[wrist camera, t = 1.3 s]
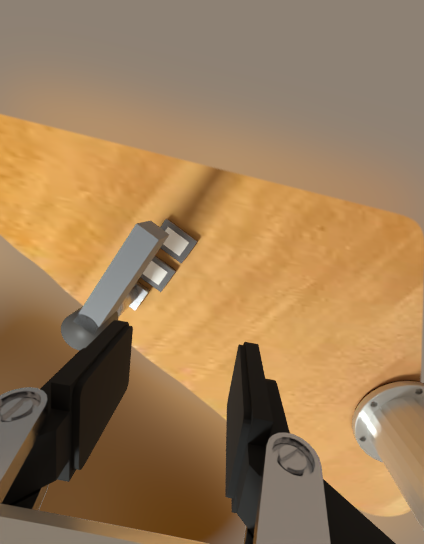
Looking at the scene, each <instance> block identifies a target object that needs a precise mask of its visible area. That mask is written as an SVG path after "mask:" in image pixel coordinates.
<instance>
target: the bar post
mask: <svg viewBox="0 0 424 544" xmlns="http://www.w3.org/2000/svg"><path fill="white" fill-rule="evenodd" d="M149 291H150V290H149V289H147V288H146V287H144V286H143V285H141V284H140V283H139V282H136V284H135V285H134V287H133V288H132V290H131V291H130V293H129V294H128V295H127V297H126V298H125V300H124V301H123V303H122V304H121V306H120V307H119V308H118V310H117V312H118V317H119V316H120V315H121V314H122V313H123V312H124V311H125V310H126V309H127V308H128V307H131V308H132V309H134V310H136V309H137V308H138V307H139V305H140V304H141V302H142V301H143V300H144V298H145V297H146V295H147V294H148V293H149Z"/></svg>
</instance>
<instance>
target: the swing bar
mask: <svg viewBox="0 0 424 544" xmlns="http://www.w3.org/2000/svg"><path fill="white" fill-rule="evenodd" d="M168 236H169V234H168V233H167V232H165V231H164V230H163V229H161V228H160V227H159V226H157V225H156V224H154V223H153V222H152V221H147V222H142V223H137V224H136V225H135V227H134V228H133V230H132V231H131V233H130V234H129V236H128V238H127V239H126V241H125V242H124V244H123V245H122V247H121V248H120V250H119V251H118V253H117V255H116V256H115V258H114V259H113V261H112V262H111V264H110V265H109V267H108V269H107V270H106V272H105V273H104V275H103V276H102V278H101V279H100V281H99V282H98V284H97V286H96V287H95V289H94V290H93V292H92V293H91V295H90V296H89V298H88V299H87V301H86V303H85V304H84V306H82V307H81V308H80V309H78V310H77V311H75V312H74V313H72V314H71V315H69V316H68V317H67V318H65V320H64V321H63V323H62V325H61V333H62V336H63V338H64V340H65V341H66V343H68V345H70V346H71V347H73V348H74V349H77V350H81V349H83V348H86V347H87V346H88V345H89V344H90V343H91V342H92V341H93V340H94V339H95V338H96V337H97V336H98V335H99V334H100V333H101V332H102V331H103V330H104V329H105V328H106V327H107V326H108V325H109V324H110V323H111V322H112V321H113V320H118V312H117V310H118V308H119V307H120V306H121V304H122V303H123V301H124V300H125V298H126V297H127V295H128V294H129V293H130V291H131V290H132V288H133V287H134V285H135V284H136V282H137V281H138V279H139V278H140V277H141V275H142V274H143V272H144V271H145V269H146V268H147V266H148V265H149V264H150V262H151V261H152V259H153V258H154V256H155V255H156V253H157V252H158V251H159V249H160V248H161V246H162V245H163V243H164V242H165V240H166V239H167V238H168Z"/></svg>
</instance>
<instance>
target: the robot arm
mask: <svg viewBox="0 0 424 544" xmlns="http://www.w3.org/2000/svg"><path fill="white" fill-rule="evenodd" d="M132 331H133V328H132V326H129V323H128V322H124V321H118V320H113V321H112V322H111V323H110V324H109V325H108V326H107V327H106V328H105V329H104V330H103V331H102V332H101V333H100V334H99V335H98V336H97V337H96V338H95V339H94V340H93V341H92V342H91V343H90V344H89V345H88V346H87V347H86V348H83V349H81V350H80V351H79V352H78V353H77V354H76V355H75V356H74V357H73V358H72V359H71V360H70V361H69V362H68V363H67V364H65V365H64V367H63V368H61V369H60V370H59V372H57V373H56V374H55V375H54V376H53V377H52V378H51V379H50V380H49V381H48V382H47V383H46V384H45V385H44V386H43V387H42V388H41V389H38V388H31V387H29V388H20V389H15V390H12V391H9V392H7V393H4V394H2V395H0V544H208V543H204V542H199V541H194V540H188V539H184V538H178V537H173V536H168V535H163V534H158V533H152V532H148V531H143V530H137V529H132V528H127V527H122V526H117V525H111V524H106V523H101V522H96V521H90V520H85V519H80V518H75V517H70V516H64V515H59V514H54V513H48V512H43V511H39V508H40V506H41V503H42V501H43V498H44V496H45V493H46V491H47V488H48V484H50V483H52V482H54V481H56V480H57V479H58V480H63V481H68V482H69V481H70V479H71V477H72V476H73V474H74V472H75V471H76V469H78V470H81V469H82V467H83V466H84V464H85V463H86V461H87V459H88V457H89V456H90V454H91V452H92V450H93V448H94V447H95V445H96V443H97V441H98V440H99V438H100V436H101V434H102V432H103V430H104V429H105V427H106V425H107V423H108V422H109V420H110V418H111V416H112V415H113V413H114V411H115V409H116V407H117V406H118V404H119V402H120V400H121V399H122V397H123V395H124V393H125V391H126V389H127V386H128V382H129V370H130V357H131V344H132ZM352 429H353V434H354V436H355V438H356V440H357V442H358V444H359V445H360V447H361V448H362V449H363V451H364V452H365V453H366V454H368V455H369V456H371V457H372V458H374V459H376V460H378V461H380V462H383V463H384V465H385V466H386V468H387V470H388V471H389V473H390V475H391V477H392V478H393V480H394V482H395V483H396V485H397V487H398V488H399V490H400V492H401V493H402V495H403V497H404V498H405V500H406V502H407V504H408V505H409V507H410V509H411V510H412V512H413V514H414V515H415V517H416V519H417V520H418V522H419V524H420V525H421V527H422V529H423V531H424V383H421V382H415V381H398V382H394V383H389V384H386V385H384V386H381V387H379V388H377V389H375V390H374V391H372V392H371V393H369V394H368V395H367V396H366V397H364V399H363V400H362V401H361V402H360V403H359V405H358V406H357V408H356V410H355V412H354V415H353V419H352ZM226 497H228V498H232V512H234V513H237V514H238V516H239V517H240V518H241V519H242V521H243V522H244V524H245V525H246V529H245V535H244V542H243V544H395V543H394V542H393V541H392V540H391V539H390V538H389V537H388V536H386V535H385V534H384V533H383V532H382V531H381V530H380V529H378V528H377V527H376V526H375V525H374V524H373V523H372V522H371V521H370V520H368V519H367V518H366V517H365V516H364V515H363V514H362V513H361V512H359V511H358V510H357V509H356V508H355V507H354V506H353V505H352V504H350V503H349V502H348V501H347V500H346V499H345V498H344V497H343V496H342V495H340V494H339V493H338V492H337V491H336V490H335V489H334V488H333V487H331V486H330V485H329V484H328V483H327V482H326V481H325V480H324V479H323V476H322V467H321V463H320V459H319V457H318V455H317V453H316V452H315V450H314V449H313V448H312V447H311V446H310V445H309V444H308V443H307V442H306V441H304V440H303V439H302V438H300V437H298V436H296V435H294V434H290V432H289V429H288V425H287V421H286V417H285V413H284V409H283V406H282V402H281V398H280V394H279V390H278V386H277V383H276V381H275V380H270V379H265V376H264V371H263V366H262V361H261V356H260V351H259V346H258V344H254V343H248V342H244V345H239V346H238V351H237V356H236V361H235V366H234V371H233V376H232V381H231V386H230V392H229V397H228V403H227V437H226Z"/></svg>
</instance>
